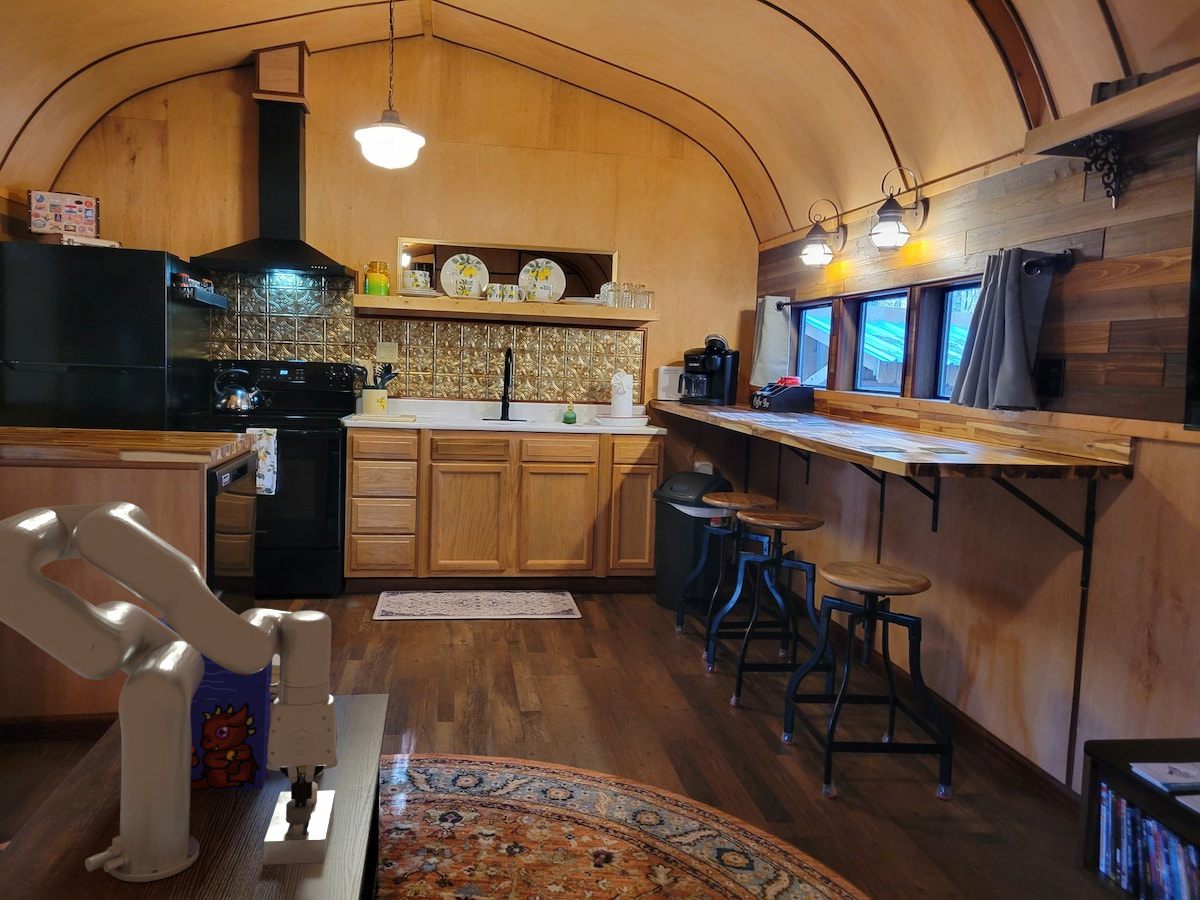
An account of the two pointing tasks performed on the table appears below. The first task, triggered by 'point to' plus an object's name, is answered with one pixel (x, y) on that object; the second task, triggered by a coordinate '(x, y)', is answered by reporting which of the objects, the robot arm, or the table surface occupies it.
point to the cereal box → (229, 728)
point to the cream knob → (313, 795)
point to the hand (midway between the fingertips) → (301, 802)
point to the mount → (299, 848)
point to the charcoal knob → (298, 816)
